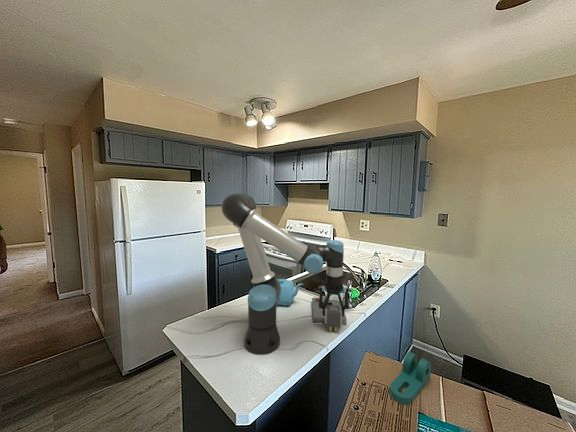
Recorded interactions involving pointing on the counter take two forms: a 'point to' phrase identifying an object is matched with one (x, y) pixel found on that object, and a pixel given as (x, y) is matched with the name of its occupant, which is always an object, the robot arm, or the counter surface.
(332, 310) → the plug
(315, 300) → the socket
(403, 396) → the bracket
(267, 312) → the robot arm
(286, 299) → the teapot
